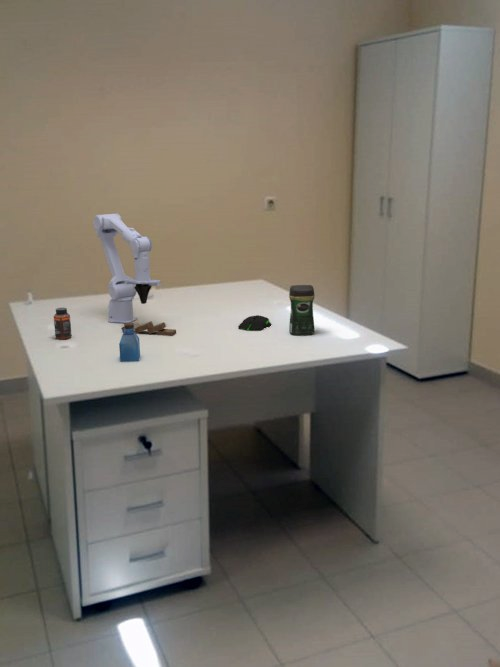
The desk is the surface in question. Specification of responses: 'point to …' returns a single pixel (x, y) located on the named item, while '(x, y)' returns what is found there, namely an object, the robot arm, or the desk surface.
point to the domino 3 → (167, 332)
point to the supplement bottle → (62, 324)
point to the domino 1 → (143, 327)
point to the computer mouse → (254, 323)
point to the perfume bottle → (129, 344)
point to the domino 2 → (156, 328)
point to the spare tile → (135, 325)
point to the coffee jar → (301, 310)
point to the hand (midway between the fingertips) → (143, 303)
